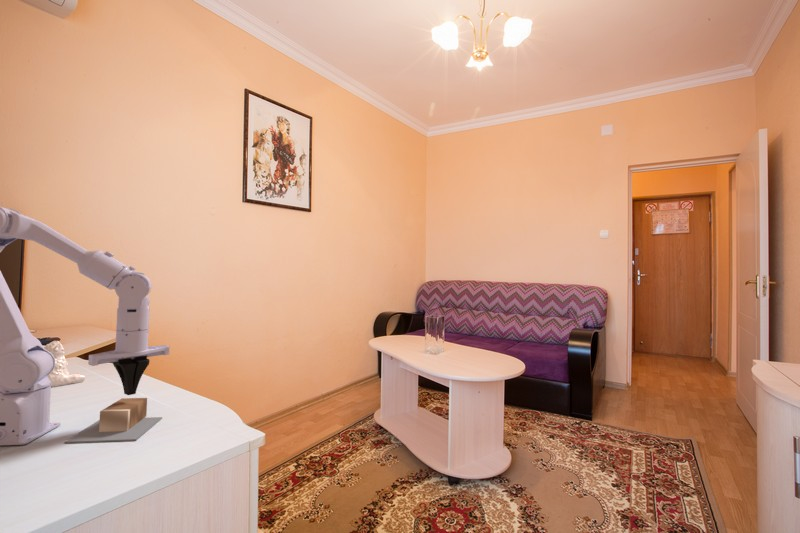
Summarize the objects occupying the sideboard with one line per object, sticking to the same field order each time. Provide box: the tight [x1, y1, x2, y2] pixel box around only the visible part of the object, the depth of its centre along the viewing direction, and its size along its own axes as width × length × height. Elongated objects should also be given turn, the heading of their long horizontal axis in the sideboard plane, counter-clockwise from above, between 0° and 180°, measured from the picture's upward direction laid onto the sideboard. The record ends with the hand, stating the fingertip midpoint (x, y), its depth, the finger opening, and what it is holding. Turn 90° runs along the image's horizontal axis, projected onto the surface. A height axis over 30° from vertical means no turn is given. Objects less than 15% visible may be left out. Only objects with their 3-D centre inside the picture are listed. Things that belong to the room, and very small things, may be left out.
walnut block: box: [99, 397, 148, 432], centre depth 81 cm, size 4×5×8 cm
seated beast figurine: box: [42, 340, 86, 388], centre depth 107 cm, size 10×9×12 cm
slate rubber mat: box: [64, 416, 163, 444], centre depth 79 cm, size 11×12×1 cm
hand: (129, 393), depth 83 cm, fingers closed
